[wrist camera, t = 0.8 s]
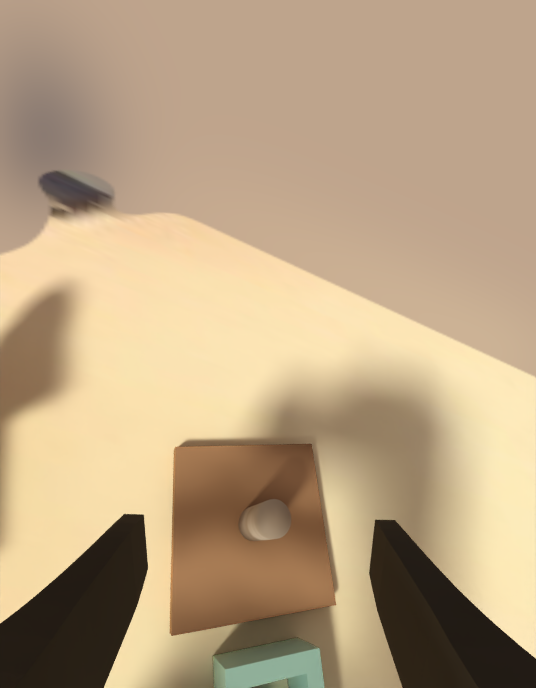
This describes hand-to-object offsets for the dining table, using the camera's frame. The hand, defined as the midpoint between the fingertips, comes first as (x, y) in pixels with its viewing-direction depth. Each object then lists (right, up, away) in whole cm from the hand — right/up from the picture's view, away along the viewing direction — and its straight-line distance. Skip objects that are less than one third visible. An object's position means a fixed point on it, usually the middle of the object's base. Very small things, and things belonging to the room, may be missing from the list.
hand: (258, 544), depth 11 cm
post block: (-1, -6, +13) cm, 14 cm away
